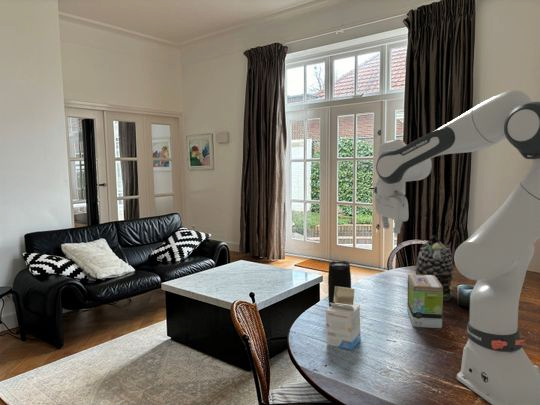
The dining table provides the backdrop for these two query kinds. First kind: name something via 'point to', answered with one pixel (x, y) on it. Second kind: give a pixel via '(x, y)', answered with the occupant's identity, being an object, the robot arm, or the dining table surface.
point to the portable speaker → (338, 277)
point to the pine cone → (436, 264)
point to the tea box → (425, 301)
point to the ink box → (343, 325)
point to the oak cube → (344, 295)
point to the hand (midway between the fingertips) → (391, 230)
